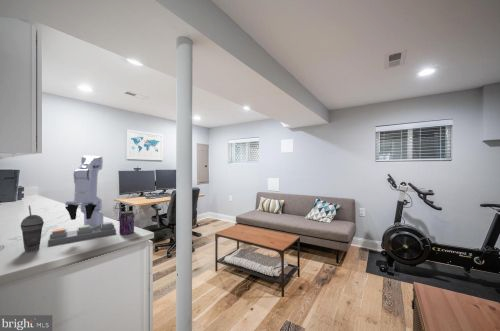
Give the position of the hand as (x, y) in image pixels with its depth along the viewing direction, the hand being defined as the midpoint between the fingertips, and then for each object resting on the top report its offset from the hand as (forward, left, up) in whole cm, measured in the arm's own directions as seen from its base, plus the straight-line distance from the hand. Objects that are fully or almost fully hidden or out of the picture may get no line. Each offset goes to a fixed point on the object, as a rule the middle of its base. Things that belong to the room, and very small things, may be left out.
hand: (80, 219), depth 104 cm
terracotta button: (+2, -10, -7) cm, 13 cm away
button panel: (-5, -4, -11) cm, 12 cm away
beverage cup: (+14, -10, -11) cm, 20 cm away
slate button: (-13, +3, -7) cm, 15 cm away
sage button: (-5, -4, -7) cm, 10 cm away
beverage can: (-14, +14, -11) cm, 23 cm away
